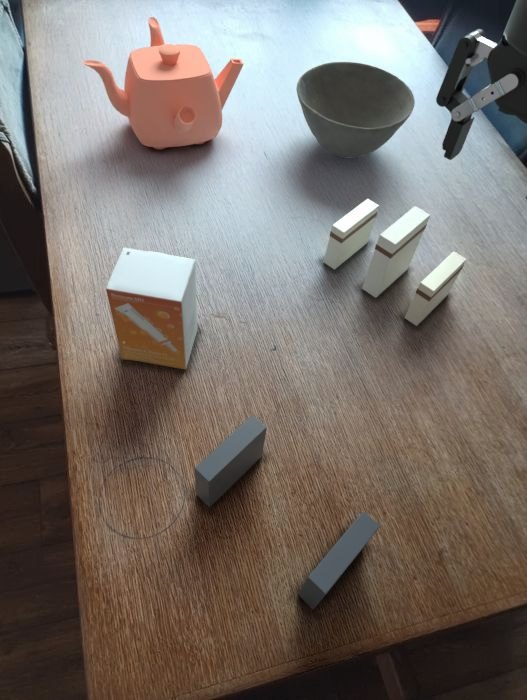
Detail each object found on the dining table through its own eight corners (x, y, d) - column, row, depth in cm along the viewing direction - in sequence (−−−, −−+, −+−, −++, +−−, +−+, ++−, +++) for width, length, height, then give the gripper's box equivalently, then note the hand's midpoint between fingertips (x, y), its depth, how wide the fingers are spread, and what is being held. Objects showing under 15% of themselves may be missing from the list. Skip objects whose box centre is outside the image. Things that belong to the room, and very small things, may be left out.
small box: (121, 360, 65) (103, 288, 55) (136, 319, 69) (122, 245, 58) (187, 371, 65) (182, 301, 55) (198, 330, 69) (196, 257, 58)
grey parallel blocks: (363, 547, 55) (380, 525, 49) (313, 610, 51) (325, 594, 45) (249, 444, 60) (252, 414, 55) (196, 494, 57) (194, 467, 51)
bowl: (297, 109, 100) (304, 53, 91) (398, 126, 99) (415, 71, 91) (281, 171, 89) (288, 114, 81) (395, 190, 88) (414, 135, 80)
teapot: (96, 140, 90) (80, 55, 79) (157, 90, 100) (150, 8, 89) (192, 177, 86) (189, 94, 75) (245, 121, 96) (249, 40, 85)
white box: (408, 268, 78) (431, 214, 70) (375, 298, 74) (395, 245, 66) (394, 259, 79) (415, 205, 71) (361, 288, 75) (379, 234, 67)
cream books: (448, 294, 76) (467, 259, 70) (416, 326, 72) (434, 291, 66) (356, 235, 81) (367, 198, 76) (323, 262, 77) (331, 225, 72)
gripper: (705, -3, 37) (578, 194, 50) (516, -64, 42) (445, 128, 55) (671, 28, 33) (544, 231, 46) (468, -43, 39) (405, 157, 52)
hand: (490, 175), depth 51 cm, fingers open, 8 cm apart
